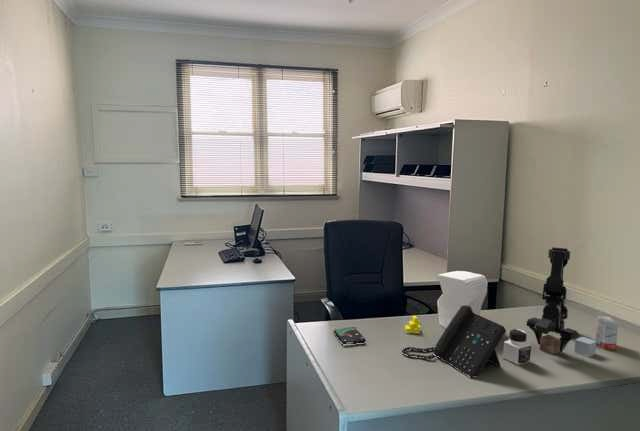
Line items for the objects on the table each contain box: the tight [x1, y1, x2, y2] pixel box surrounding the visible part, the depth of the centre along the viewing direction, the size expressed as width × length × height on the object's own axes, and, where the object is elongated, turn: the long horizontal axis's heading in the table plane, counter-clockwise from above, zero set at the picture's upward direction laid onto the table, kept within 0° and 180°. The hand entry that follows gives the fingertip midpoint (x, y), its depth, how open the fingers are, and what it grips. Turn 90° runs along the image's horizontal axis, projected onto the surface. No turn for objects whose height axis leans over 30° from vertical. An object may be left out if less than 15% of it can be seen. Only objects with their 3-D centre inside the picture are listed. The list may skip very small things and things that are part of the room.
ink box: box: [594, 315, 619, 351], centre depth 184 cm, size 9×5×12 cm, turn 168°
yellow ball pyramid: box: [404, 315, 422, 333], centre depth 199 cm, size 6×8×8 cm
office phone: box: [401, 305, 507, 377], centre depth 169 cm, size 29×28×20 cm
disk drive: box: [333, 326, 367, 344], centre depth 191 cm, size 10×3×15 cm
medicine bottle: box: [502, 328, 532, 366], centre depth 170 cm, size 7×7×12 cm
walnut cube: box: [539, 334, 561, 355], centre depth 179 cm, size 6×6×6 cm
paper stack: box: [435, 270, 489, 329], centre depth 204 cm, size 21×27×26 cm
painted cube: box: [574, 336, 597, 358], centre depth 177 cm, size 6×6×6 cm
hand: (549, 348), depth 180 cm, fingers open, 9 cm apart
